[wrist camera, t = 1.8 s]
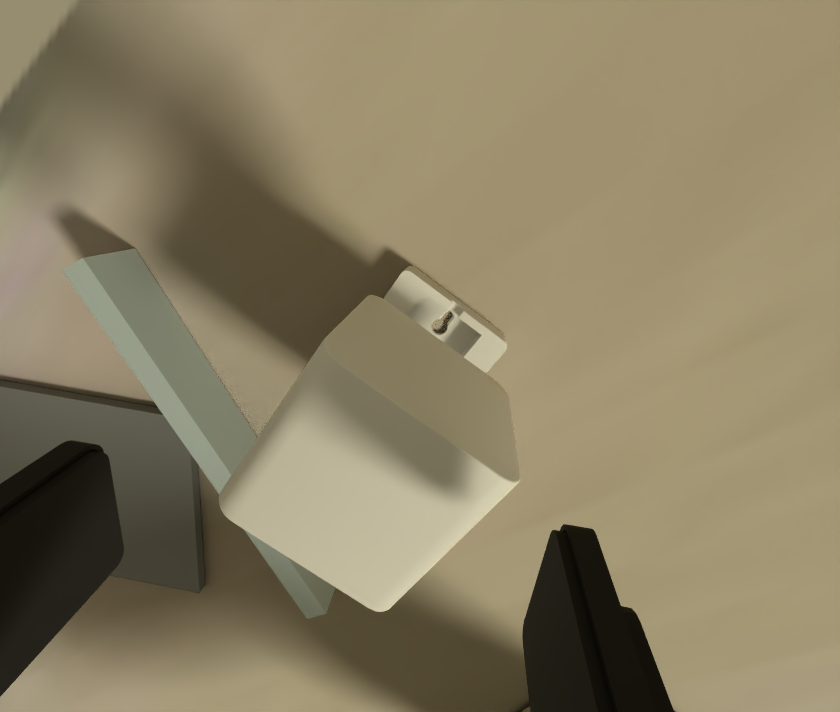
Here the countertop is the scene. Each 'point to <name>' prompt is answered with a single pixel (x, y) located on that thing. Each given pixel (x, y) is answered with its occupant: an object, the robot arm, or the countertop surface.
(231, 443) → the low wall
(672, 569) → the countertop surface
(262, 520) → the security camera
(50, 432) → the mat
